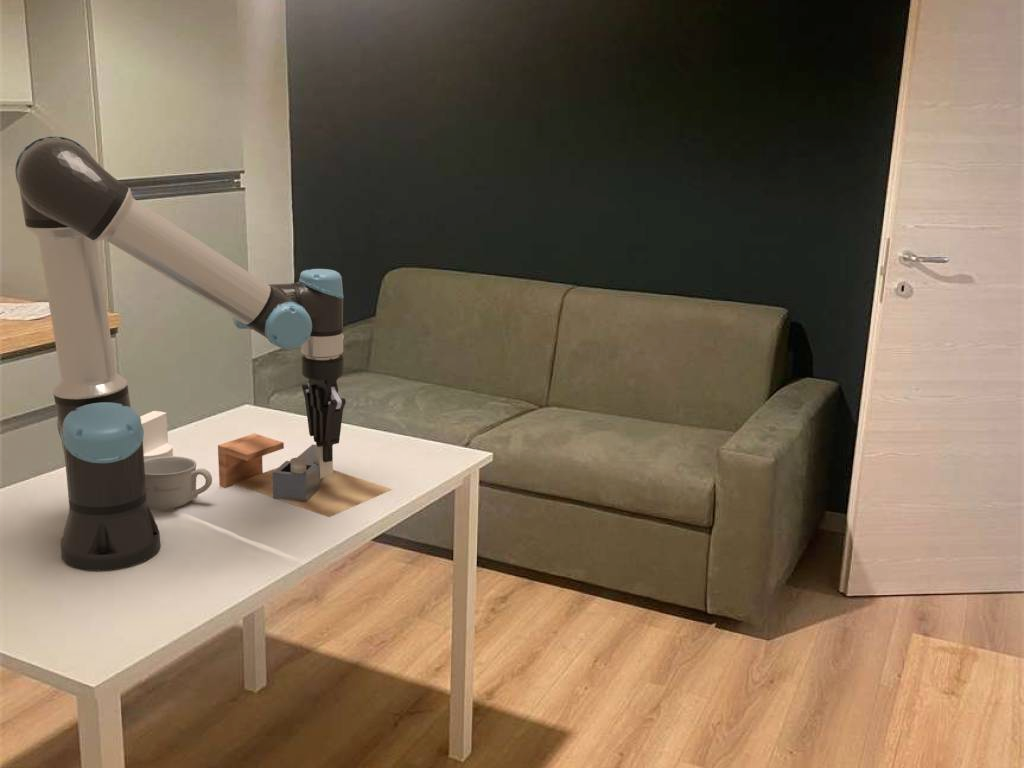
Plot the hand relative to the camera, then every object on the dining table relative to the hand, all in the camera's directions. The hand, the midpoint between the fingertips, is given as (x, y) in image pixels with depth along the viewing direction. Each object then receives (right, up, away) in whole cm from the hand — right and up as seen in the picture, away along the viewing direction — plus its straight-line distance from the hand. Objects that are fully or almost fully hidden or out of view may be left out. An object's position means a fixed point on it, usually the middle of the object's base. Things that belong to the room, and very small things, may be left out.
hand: (324, 475), depth 198 cm
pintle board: (-4, -3, +1) cm, 5 cm away
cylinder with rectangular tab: (-34, -1, +4) cm, 35 cm away
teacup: (-25, -5, -9) cm, 27 cm away
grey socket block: (-4, -2, +1) cm, 4 cm away
